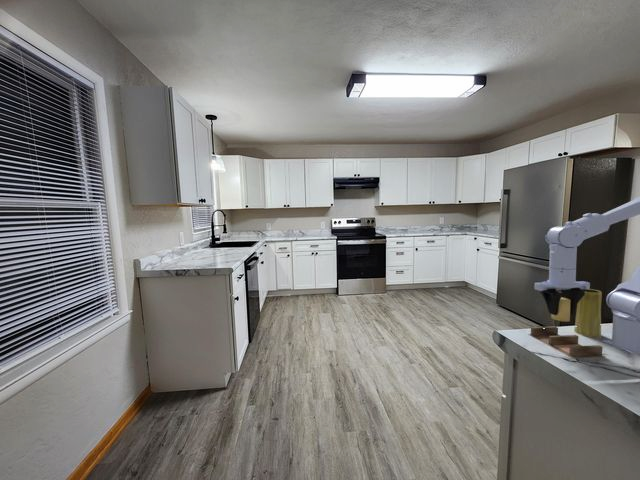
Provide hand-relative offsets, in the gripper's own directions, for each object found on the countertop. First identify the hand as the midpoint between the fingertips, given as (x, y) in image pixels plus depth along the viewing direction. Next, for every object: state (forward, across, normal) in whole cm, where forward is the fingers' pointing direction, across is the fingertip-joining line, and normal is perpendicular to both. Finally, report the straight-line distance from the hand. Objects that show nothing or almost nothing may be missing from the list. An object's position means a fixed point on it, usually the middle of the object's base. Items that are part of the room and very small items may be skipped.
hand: (560, 313), depth 77 cm
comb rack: (+9, 0, +1) cm, 9 cm away
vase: (+10, -14, -6) cm, 18 cm away
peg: (+2, 0, 0) cm, 2 cm away
